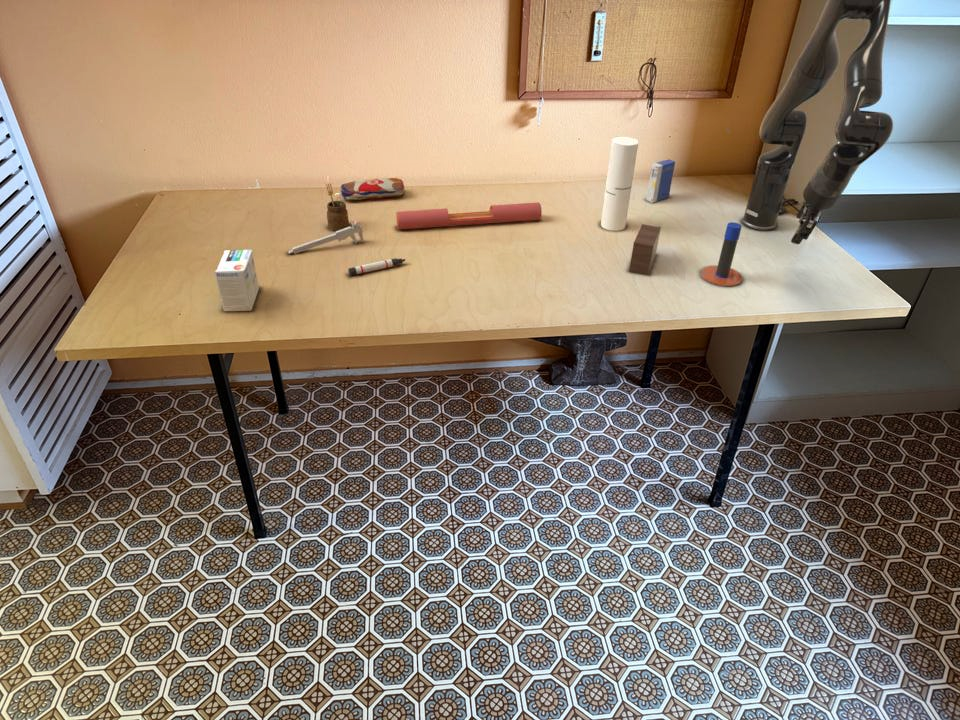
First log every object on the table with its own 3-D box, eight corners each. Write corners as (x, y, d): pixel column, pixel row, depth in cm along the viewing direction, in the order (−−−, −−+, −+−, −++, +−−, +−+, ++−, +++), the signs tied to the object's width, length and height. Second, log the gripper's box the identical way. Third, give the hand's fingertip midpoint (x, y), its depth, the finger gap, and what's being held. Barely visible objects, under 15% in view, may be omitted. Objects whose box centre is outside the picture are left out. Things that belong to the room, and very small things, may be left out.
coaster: (703, 264, 187) (704, 262, 187) (742, 271, 185) (743, 269, 184) (699, 281, 180) (699, 279, 179) (739, 289, 177) (740, 287, 177)
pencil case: (402, 204, 215) (401, 189, 212) (338, 203, 215) (336, 187, 212) (405, 190, 224) (405, 175, 221) (344, 189, 224) (342, 173, 221)
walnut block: (637, 251, 193) (642, 223, 188) (655, 255, 191) (660, 227, 186) (629, 271, 184) (633, 242, 179) (648, 275, 182) (653, 246, 177)
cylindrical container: (624, 231, 203) (638, 146, 188) (600, 229, 204) (611, 143, 189) (625, 221, 208) (638, 137, 194) (601, 219, 209) (612, 135, 195)
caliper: (362, 240, 195) (360, 219, 191) (363, 242, 194) (361, 221, 190) (288, 253, 188) (284, 231, 184) (289, 254, 187) (285, 233, 184)
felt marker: (694, 241, 181) (736, 216, 174) (721, 277, 184) (764, 253, 177) (692, 247, 179) (735, 221, 171) (720, 283, 181) (763, 259, 174)
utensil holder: (335, 233, 198) (331, 193, 191) (323, 225, 202) (318, 186, 195) (353, 227, 201) (349, 187, 194) (341, 220, 205) (337, 180, 198)
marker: (351, 277, 178) (350, 270, 177) (348, 273, 180) (347, 266, 178) (407, 264, 184) (406, 258, 183) (404, 261, 186) (403, 254, 184)
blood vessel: (536, 215, 211) (537, 199, 208) (541, 222, 207) (542, 206, 204) (396, 224, 203) (395, 208, 200) (398, 232, 199) (397, 216, 196)
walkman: (662, 194, 225) (668, 157, 218) (668, 197, 224) (675, 160, 216) (645, 200, 221) (651, 162, 214) (652, 202, 220) (658, 165, 213)
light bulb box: (232, 288, 172) (223, 249, 166) (260, 288, 173) (252, 248, 167) (223, 312, 164) (213, 271, 157) (252, 311, 164) (244, 270, 158)
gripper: (839, 211, 157) (808, 255, 172) (847, 167, 164) (816, 214, 178) (806, 201, 159) (777, 246, 173) (815, 158, 165) (787, 205, 179)
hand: (797, 230), depth 175 cm, fingers open, 8 cm apart
